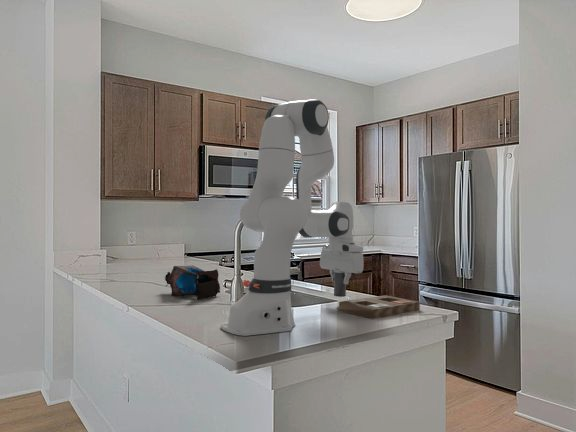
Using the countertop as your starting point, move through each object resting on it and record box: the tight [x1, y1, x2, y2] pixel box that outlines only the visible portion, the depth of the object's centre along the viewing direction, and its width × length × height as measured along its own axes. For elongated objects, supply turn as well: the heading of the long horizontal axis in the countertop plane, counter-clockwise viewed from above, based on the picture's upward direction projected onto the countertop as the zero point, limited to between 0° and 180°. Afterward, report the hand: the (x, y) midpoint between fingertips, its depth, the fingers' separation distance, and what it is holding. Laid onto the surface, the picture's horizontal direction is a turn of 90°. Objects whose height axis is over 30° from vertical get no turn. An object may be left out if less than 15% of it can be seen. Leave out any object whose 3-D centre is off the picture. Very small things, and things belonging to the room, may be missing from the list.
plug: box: [333, 269, 347, 298], centre depth 167 cm, size 5×5×10 cm
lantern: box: [164, 265, 221, 301], centre depth 186 cm, size 16×16×25 cm
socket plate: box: [338, 294, 421, 320], centre depth 160 cm, size 24×16×3 cm, turn 126°
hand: (340, 283), depth 167 cm, fingers closed on plug, 4 cm apart
